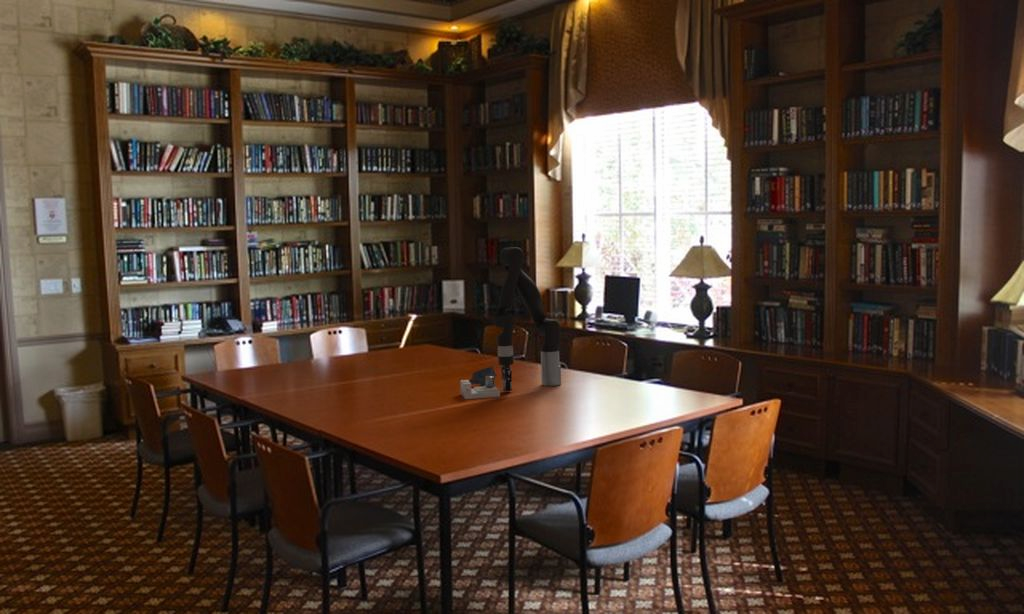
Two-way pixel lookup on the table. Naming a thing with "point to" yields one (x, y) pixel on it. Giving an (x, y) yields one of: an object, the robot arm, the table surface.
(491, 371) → the stone
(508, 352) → the robot arm
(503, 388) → the cylinder
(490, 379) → the grey glossy egg shape
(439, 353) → the table surface
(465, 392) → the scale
